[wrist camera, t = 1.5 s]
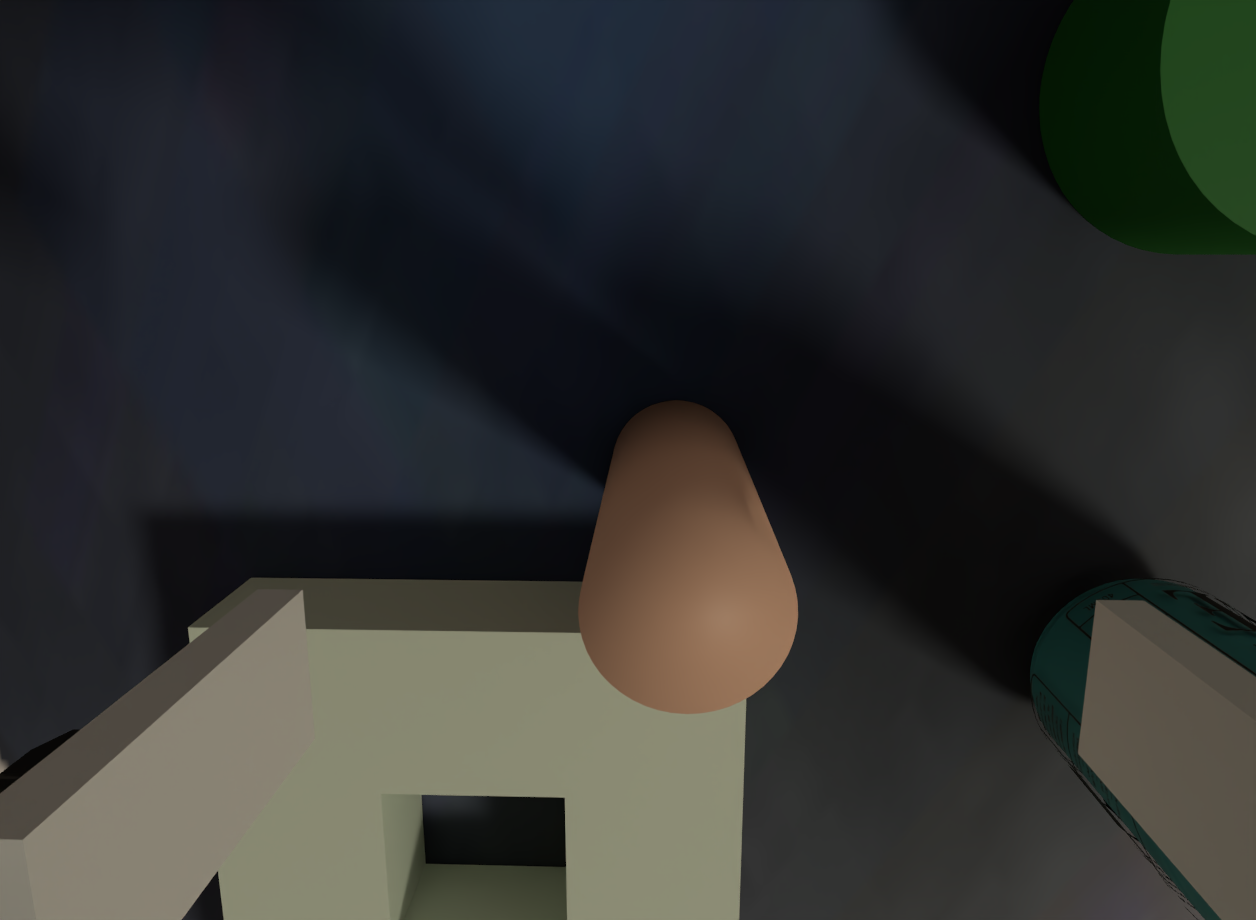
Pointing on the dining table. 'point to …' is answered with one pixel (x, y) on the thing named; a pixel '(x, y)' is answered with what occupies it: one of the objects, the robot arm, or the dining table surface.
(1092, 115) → the slotted cylinder bracket
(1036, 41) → the dining table surface
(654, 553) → the peg
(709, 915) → the socket board
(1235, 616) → the beverage bottle
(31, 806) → the robot arm
